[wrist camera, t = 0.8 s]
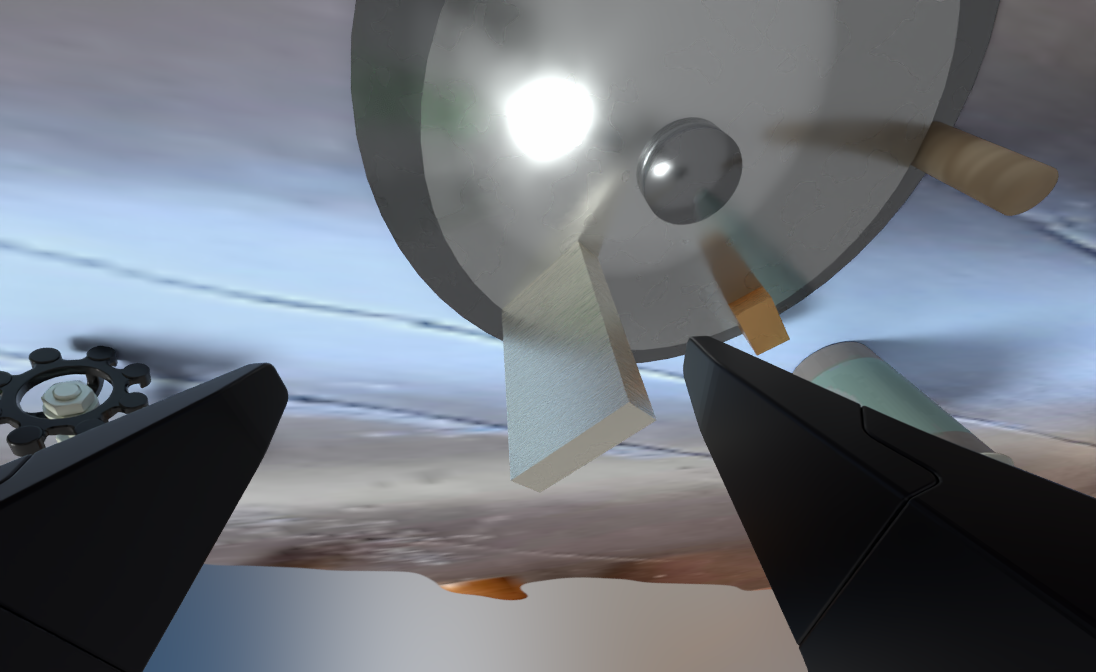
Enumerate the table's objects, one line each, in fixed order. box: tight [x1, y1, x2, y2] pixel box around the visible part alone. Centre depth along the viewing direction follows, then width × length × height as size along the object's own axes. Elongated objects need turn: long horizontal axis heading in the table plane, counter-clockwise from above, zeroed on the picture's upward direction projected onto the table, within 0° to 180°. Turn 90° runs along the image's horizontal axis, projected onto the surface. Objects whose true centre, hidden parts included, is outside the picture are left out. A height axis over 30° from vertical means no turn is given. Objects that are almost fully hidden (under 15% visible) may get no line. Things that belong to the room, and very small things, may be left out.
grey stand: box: [421, 0, 960, 492], centre depth 17 cm, size 22×24×11 cm
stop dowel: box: [911, 121, 1058, 216], centre depth 20 cm, size 2×2×6 cm
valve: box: [0, 346, 151, 457], centre depth 26 cm, size 7×7×12 cm
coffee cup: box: [793, 342, 1014, 466], centre depth 29 cm, size 8×9×12 cm
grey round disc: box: [351, 0, 1000, 363], centre depth 21 cm, size 28×28×1 cm
